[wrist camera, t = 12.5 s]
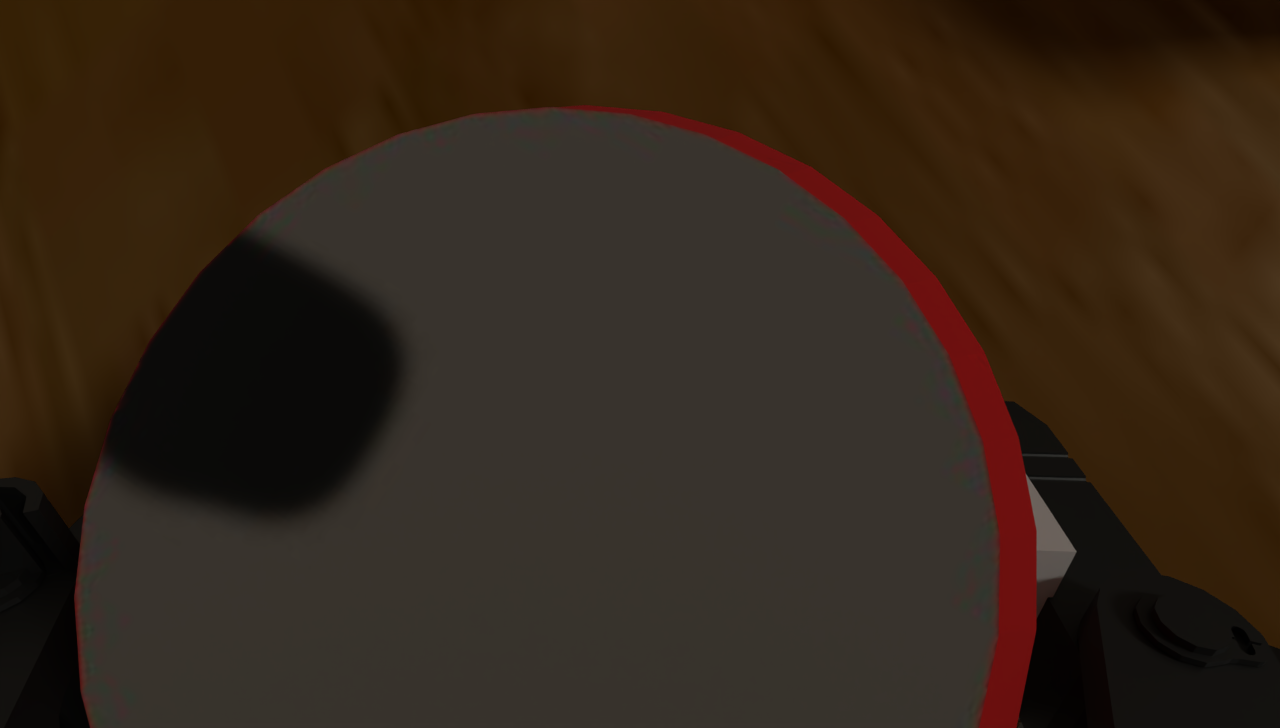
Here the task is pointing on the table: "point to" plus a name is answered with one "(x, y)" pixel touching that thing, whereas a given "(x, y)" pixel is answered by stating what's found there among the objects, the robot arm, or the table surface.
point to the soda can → (560, 456)
